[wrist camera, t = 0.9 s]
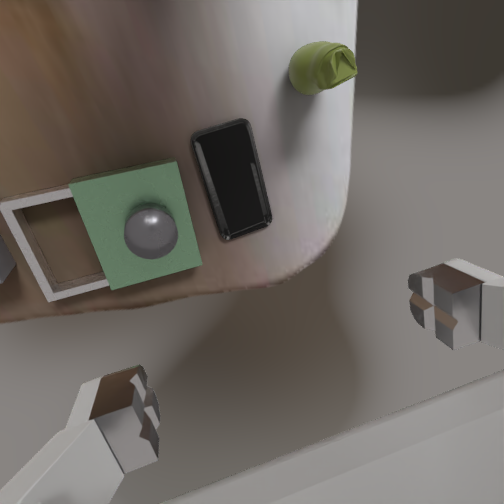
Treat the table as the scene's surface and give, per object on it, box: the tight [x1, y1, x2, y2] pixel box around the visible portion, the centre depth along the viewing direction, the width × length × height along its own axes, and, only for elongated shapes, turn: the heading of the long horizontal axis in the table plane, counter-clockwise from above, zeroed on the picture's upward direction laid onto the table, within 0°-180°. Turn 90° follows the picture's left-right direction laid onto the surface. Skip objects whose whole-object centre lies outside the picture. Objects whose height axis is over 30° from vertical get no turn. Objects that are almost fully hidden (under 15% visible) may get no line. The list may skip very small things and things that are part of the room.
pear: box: [289, 41, 357, 95], centre depth 38 cm, size 6×5×10 cm
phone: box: [191, 118, 272, 240], centre depth 45 cm, size 8×1×15 cm
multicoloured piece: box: [0, 157, 202, 302], centre depth 41 cm, size 14×20×6 cm
